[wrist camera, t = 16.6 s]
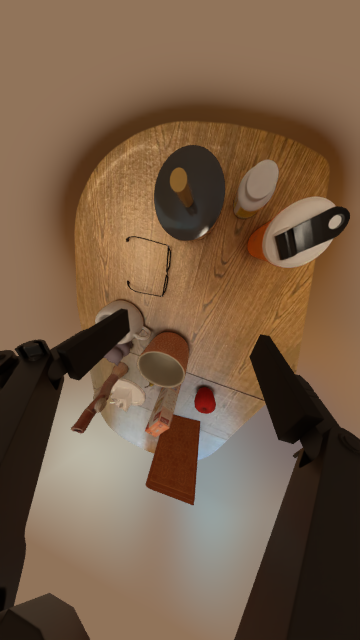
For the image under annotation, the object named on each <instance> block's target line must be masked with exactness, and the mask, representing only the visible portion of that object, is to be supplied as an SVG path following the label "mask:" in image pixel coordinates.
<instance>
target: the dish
mask: <svg viewBox="0 0 360 640" xmlns="http://www.w3.org/2000/svg"><path fill="white" fill-rule="evenodd" d="M111 393H112V395H111V397H110V398H111V399H112V400H113V401H115V402H110V404H115V403H116V405H117V406H119V408H122V409H123V410H124V411H125V412H127V410H128V408H129V406H130V405H141V404H143V403H144V401H145V398H146V396H145V393H144V391H143V390H142V388H140V387H139V386H138V385H137V384H135V383H134V382H132V381H130V380H127V379H124V378H119V379H118V381H117V382H116V383H115V385H114V386H113V388H112V390H111Z"/></svg>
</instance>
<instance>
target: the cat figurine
mask: <svg viewBox="0 0 360 640" xmlns="http://www.w3.org/2000/svg"><path fill="white" fill-rule="evenodd" d="M131 347H132V341H129V342H127V343H124V344H117V345H115V346H114V347H113V348H112V349H111V350H110V351H109V352H108V353H107V354H106V355H105V356H104V358H107V360H108V361H109V362H112V363H115V364H116V365H117V366H118V364H119V362H120V361H121V360H122V358H123V357H124V356H127V355H128V354H129V353H130V348H131Z"/></svg>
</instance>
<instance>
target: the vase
mask: <svg viewBox="0 0 360 640" xmlns="http://www.w3.org/2000/svg"><path fill="white" fill-rule="evenodd" d="M127 372H128V367H127V365H126V364H124V363H122V362H119V364H118V366H117V365H115V367H114V369H113V371H112V373H111V375H110V376H109V377H108V379H107V380H106V381H105V382H104V384H103V386H101V387H100V388H99V389H98V390H97V391H96V392H95V394H94V396H93V399H94V400H93V402H92V403H91V404H90V405H89V406H88V407H87V408H86V409H85V410H84V412H83V413H82V415H81V416H80V418H79V419H78V421H77V422H76V423H75V424H74V426H73V427H72V428H71V430H72V431H76V432H78V433H84V431H85V430H86V428H87V427H88V425H89V423H90V421H91V420H92V418H93V417H94V415H95V414H96V413H97V412H98V413H99V412H101V411H102V410H103V409H104V408H105V406H106V404H107V402H106V401H107V400H108V398H109V395H110V392H111V390H112V388H113V386H114V385H115V383H116V382H117V381H118V379H119V378H121V377H122V376H124V375H125V374H126V373H127Z"/></svg>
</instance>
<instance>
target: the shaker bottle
mask: <svg viewBox="0 0 360 640" xmlns="http://www.w3.org/2000/svg"><path fill="white" fill-rule="evenodd" d="M349 219H350V213H349V211H348V210H347V209H346V208H343V207H338V206H337V207H335V205H334V204H333V203H332V202H331V201H330V200H328V199H326V198H322V197H308V198H305V199H301V200H299V201H297V202H295V203H293V204H291V205H290V206H288V207H286V208H285V209H283V210H282V211H280V212H279V213H278V214H277V215H276V216H275V217H274V218H273V219H272V220H270V221H269V222H267V223H266V224H264V225H263V226H261V227H260V228H259V229H257V230H256V231H255V232H254V233H253V234H252V235H251V236H250V238H249V240H248V244H247V248H248V252H249V253H250V255H252V256H253V257H256V258H259V259H262V260H265V261H268V262H269V263H271V264H273V265H275V266H279V267H284V268H292V267H298V266H301V265H304V264H306V263H308V262H310V261H312V260H313V259H315V258H316V257H318V256H319V255H320V254H321V253H322V252H323V251H324V250H325V249H326V248H327V247H328V246H329V244H330V243H331V241H332V240H333V238H335V237H337V236H338V235H339V234H340V233H341V232H342V231H343V230H344V228H345V227H346V226H347V224H348V221H349Z"/></svg>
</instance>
